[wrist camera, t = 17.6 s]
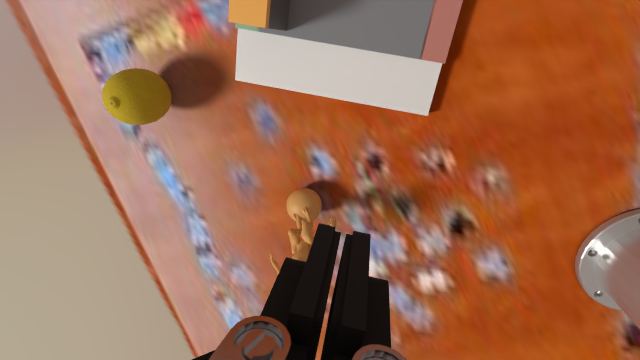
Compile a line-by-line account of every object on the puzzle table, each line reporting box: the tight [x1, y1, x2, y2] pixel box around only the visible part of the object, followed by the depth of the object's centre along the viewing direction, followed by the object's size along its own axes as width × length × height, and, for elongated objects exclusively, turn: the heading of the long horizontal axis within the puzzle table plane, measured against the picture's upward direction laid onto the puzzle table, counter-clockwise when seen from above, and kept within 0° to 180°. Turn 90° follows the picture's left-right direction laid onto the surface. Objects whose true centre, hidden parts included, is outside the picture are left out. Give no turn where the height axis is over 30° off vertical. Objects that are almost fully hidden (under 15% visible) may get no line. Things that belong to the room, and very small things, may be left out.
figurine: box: [270, 188, 336, 274], centre depth 35 cm, size 8×6×12 cm
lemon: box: [102, 68, 171, 125], centre depth 35 cm, size 6×6×8 cm
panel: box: [235, 0, 463, 116], centre depth 32 cm, size 20×16×1 cm
